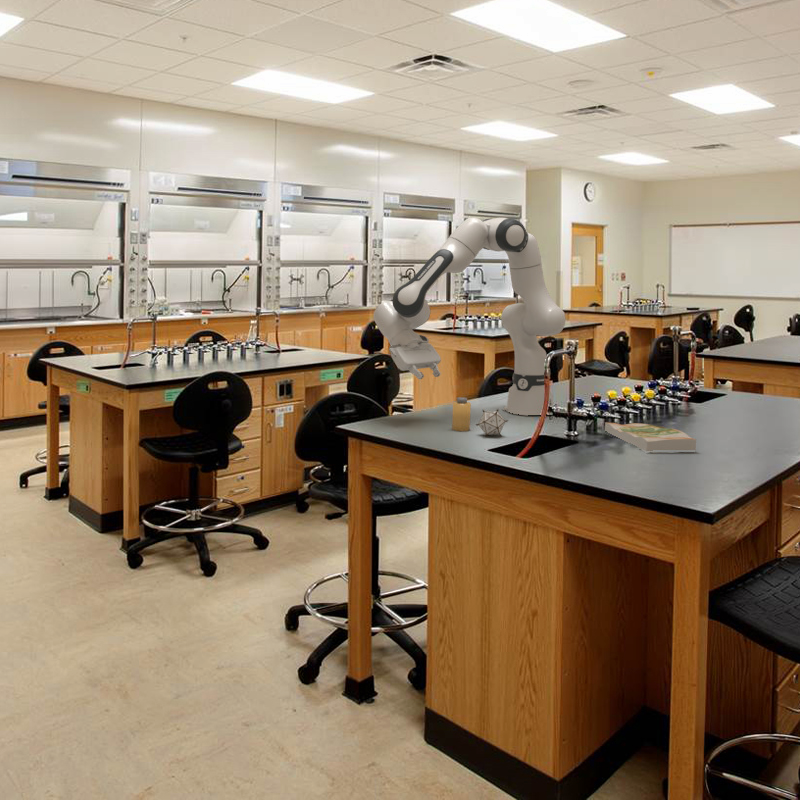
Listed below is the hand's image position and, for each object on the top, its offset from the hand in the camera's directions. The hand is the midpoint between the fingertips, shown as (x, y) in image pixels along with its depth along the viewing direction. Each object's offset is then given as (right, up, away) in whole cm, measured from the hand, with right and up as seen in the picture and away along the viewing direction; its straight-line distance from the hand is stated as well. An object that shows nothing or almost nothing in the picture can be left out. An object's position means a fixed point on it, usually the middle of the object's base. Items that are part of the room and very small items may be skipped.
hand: (430, 376), depth 252 cm
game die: (+18, -19, -14) cm, 29 cm away
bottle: (+10, -17, -5) cm, 20 cm away
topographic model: (+64, -21, -17) cm, 70 cm away
